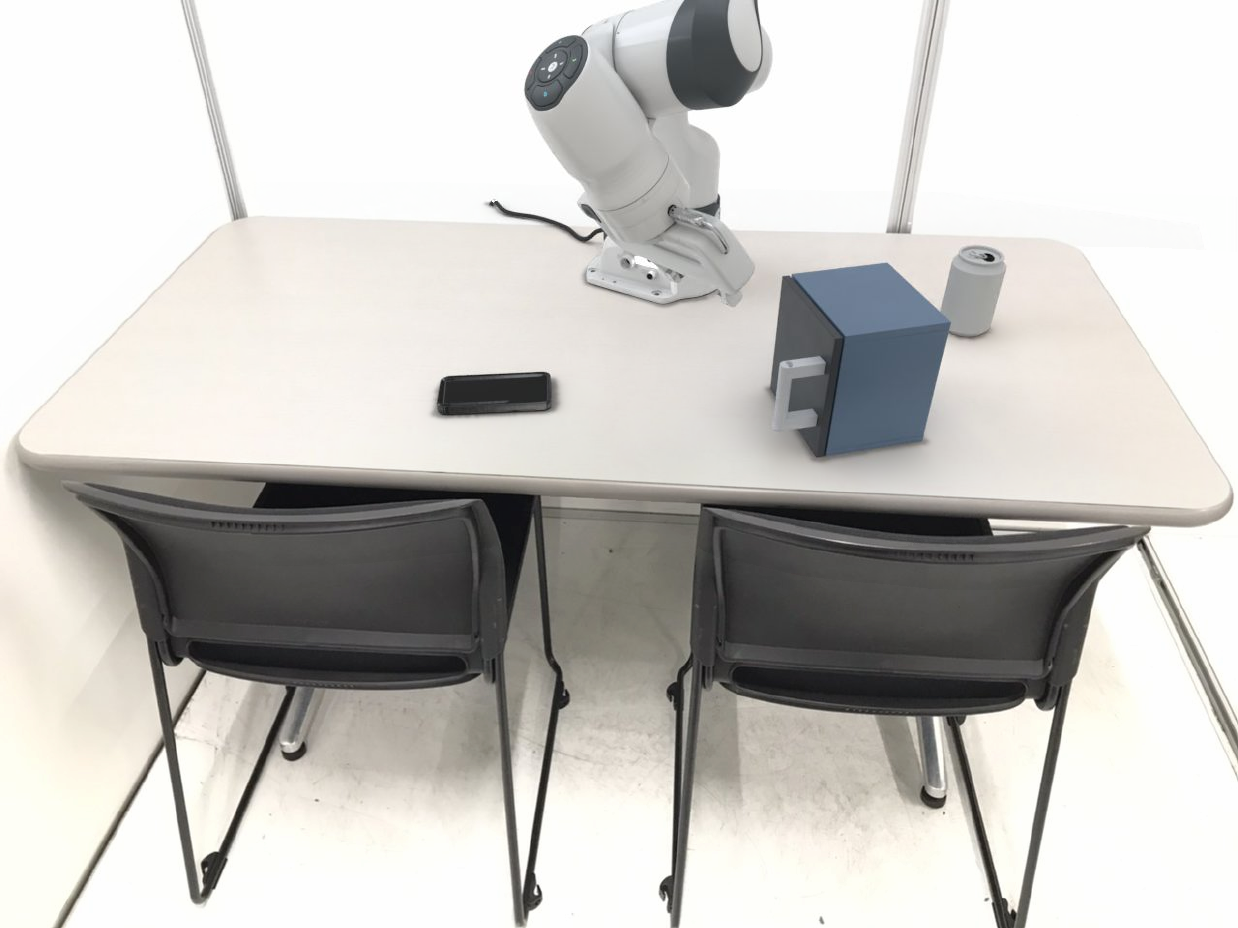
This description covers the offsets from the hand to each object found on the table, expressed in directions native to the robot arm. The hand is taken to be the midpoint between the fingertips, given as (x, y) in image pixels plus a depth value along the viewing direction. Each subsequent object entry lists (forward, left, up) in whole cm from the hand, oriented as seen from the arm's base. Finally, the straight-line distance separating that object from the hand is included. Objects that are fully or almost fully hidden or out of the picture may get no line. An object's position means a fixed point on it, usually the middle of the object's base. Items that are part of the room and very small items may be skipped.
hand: (705, 288), depth 99 cm
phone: (-29, +3, -23) cm, 37 cm away
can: (+28, +45, -23) cm, 57 cm away
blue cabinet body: (+16, +16, -23) cm, 32 cm away
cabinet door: (+8, +10, -23) cm, 26 cm away
